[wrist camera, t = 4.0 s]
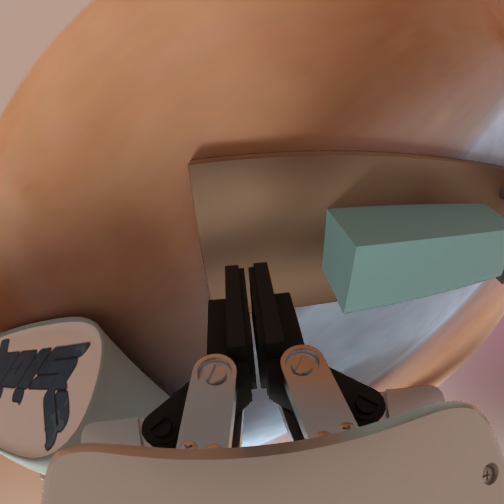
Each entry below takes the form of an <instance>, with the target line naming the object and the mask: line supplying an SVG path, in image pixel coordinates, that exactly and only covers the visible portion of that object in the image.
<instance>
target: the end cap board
mask: <svg viewBox="0 0 504 504" xmlns="http://www.w3.org/2000/svg"><path fill="white" fill-rule="evenodd" d="M188 167H189V175H190V182H191V189H192V195H193V202H194V209H195V215H196V221H197V227H198V233H199V239H200V245H201V251H202V256H203V262H204V267H205V273H206V278H207V283H208V289H209V294H210V299H211V300H215V299H226V295H225V266H230V265H238V266H239V268H244V272H245V281H246V290H247V298H248V307H249V313H252V309H251V296H250V283H249V270H248V267H253V263H261V262H267V264H268V269H269V273H270V278H271V282H272V286H273V291H274V294H277V293H286V292H289V293H290V295H291V299H292V302H293V306H294V307H301V306H309V305H316V304H323V303H329V302H336V301H337V299H336V297H335V295H334V293H333V290H332V288H331V286H330V284H329V282H328V280H327V278H326V276H325V274H324V272H323V270H322V261H323V251H324V239H325V227H326V213H327V209H331V208H348V207H367V206H388V205H417V204H486V205H488V206H489V207H491V208H492V209H493V210H495V211H496V212H498V213H499V214H500V215H502V216H503V217H504V167H503V166H497V165H492V164H486V163H480V162H474V161H468V160H461V159H453V158H445V157H436V156H427V155H416V154H403V153H387V152H363V151H301V152H276V153H260V154H246V155H234V156H224V157H214V158H205V159H197V160H190V162H189V164H188ZM496 278H497V279H498V280H499V281H500V282H501V283H502V284H503V283H504V270H503V272H502V275H501V276H498V277H496Z"/></svg>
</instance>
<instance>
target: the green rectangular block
mask: <svg viewBox="0 0 504 504" xmlns="http://www.w3.org/2000/svg"><path fill="white" fill-rule="evenodd" d="M322 270H323V272H324V274H325V276H326V278H327V280H328V282H329V284H330V286H331V288H332V290H333V293H334V295H335V297H336V299H337V301H338V303H339V305H340V307H341V309H342V311H343V313H344V314H345V313H350V312H356V311H361V310H366V309H372V308H377V307H382V306H386V305H391V304H396V303H400V302H405V301H409V300H414V299H418V298H422V297H426V296H430V295H435V294H438V293H442V292H446V291H450V290H454V289H457V288H461V287H465V286H468V285H472V284H475V283H479V282H482V281H485V280H488V279H492V278H495V277H498V276H501V275H502V272H503V270H504V217H503V216H502V215H500V214H499V213H498V212H496V211H495V210H493V209H492V208H491V207H489V206H488V205H486V204H417V205H388V206H367V207H348V208H331V209H327V213H326V227H325V239H324V251H323V261H322Z"/></svg>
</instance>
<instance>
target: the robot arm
mask: <svg viewBox="0 0 504 504" xmlns="http://www.w3.org/2000/svg"><path fill="white" fill-rule="evenodd" d="M248 270H249V283H250V296H251V309H252V320H253V328H254V336H255V344H256V351H257V359H258V367H259V375H260V382H261V388H267V394H268V395H269V399H271V400H272V401H274V402H275V403H277V404H279V409H280V412H281V415H282V417H283V420H284V423H285V426H286V429H287V431H288V434H289V437H290V440H291V442H285V443H278V444H270V445H261V446H251V447H241V445H242V433H243V422H244V408H245V407H246V406H247V405H248V404H249V403H250V402H251V401H252V392H251V389H257V385H256V374H255V363H254V351H253V341H252V333H251V324H250V316H249V307H248V298H247V290H246V281H245V272H244V268H239V266H238V265H230V266H225V295H226V299H215V300H209V303H208V334H207V356H204V357H202V358H201V359H199V360H198V361H197V362H196V364H195V365H194V367H193V370H192V374H191V379H190V381H189V382H188V383H187V384H186V385H184V386H183V387H182V388H181V389H180V390H178V391H177V392H176V393H175V394H173V395H172V396H171V397H170V398H169V399H167V400H166V401H165V402H164V403H162V404H161V405H160V406H159V407H158V408H156V409H155V410H154V411H153V412H151V413H150V414H149V415H148V416H147V417H146V418H141V419H138V418H137V417H134V418H127V419H119V420H111V421H101V422H93V423H89V424H88V425H86V426H85V427H84V429H83V431H82V434H81V444H75V445H72V446H68V447H65V448H63V449H61V450H59V451H58V452H56V453H55V454H54V456H53V457H52V459H51V460H50V463H49V465H48V468H47V472H46V475H45V480H44V485H43V493H42V503H41V504H504V457H503V453H502V450H501V448H500V445H499V443H498V441H497V438H496V436H495V433H494V431H493V429H492V427H491V425H490V423H489V421H488V420H487V418H486V416H485V415H484V413H483V412H482V411H481V410H480V409H479V408H478V407H477V406H476V405H474V404H472V403H468V402H463V401H446V402H445V399H444V396H443V393H442V392H441V391H440V390H439V388H437V387H435V386H429V385H427V386H419V387H410V388H399V389H386V391H385V392H378V391H376V390H375V389H373V388H371V387H368V386H366V385H364V384H362V383H360V382H358V381H356V380H354V379H352V378H350V377H348V376H346V375H344V374H342V373H340V372H338V371H336V370H334V369H332V368H330V367H329V366H328V365H327V363H326V361H325V359H324V357H323V355H322V354H321V352H320V351H319V350H317V349H316V348H314V347H312V346H309V345H304V342H303V338H302V334H301V331H300V327H299V323H298V320H297V316H296V313H295V309H294V306H293V302H292V299H291V295H290V293H289V292H286V293H277V294H274V291H273V286H272V282H271V278H270V273H269V269H268V264H267V262H261V263H253V267H248Z"/></svg>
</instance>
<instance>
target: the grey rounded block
mask: <svg viewBox="0 0 504 504" xmlns="http://www.w3.org/2000/svg"><path fill="white" fill-rule="evenodd" d="M169 398H170V396H169V395H168V394H167V393H166V392H164V391H163V390H162V389H161V388H160V387H159V386H158V385H157V384H155V383H154V382H153V381H152V380H151V379H150V378H149V377H148V376H146V375H145V374H144V373H143V372H142V371H141V370H140V369H139V368H138V367H137V366H136V365H135V364H134V363H133V362H132V361H131V360H130V359H129V358H128V357H127V356H126V355H125V354H124V353H123V352H122V351H121V350H120V349H119V348H118V347H117V346H116V344H115V343H114V342H113V341H112V340H111V339H110V338H109V337H108V336H107V335H106V333H105V332H104V331H103V330H102V329H101V327H100V326H99V325H98V324H97V323H96V322H94V321H92V320H91V319H88V318H85V317H76V316H73V317H63V318H56V319H50V320H44V321H40V322H35V323H31V324H27V325H23V326H20V327H16V328H13V329H10V330H7V331H5V332H2V333H0V454H2V455H4V456H5V457H7V458H9V459H11V460H13V461H15V462H17V463H18V464H21V465H22V466H25V467H27V468H29V469H31V470H34V471H36V472H38V473H40V474H43V475H46V472H47V468H48V465H49V463H50V460H51V459H52V457H53V456H54V454H55V453H56V452H58V451H59V450H61V449H63V448H65V447H68V446H72V445H75V444H81V434H82V431H83V429H84V427H85V426H86V425H88V424H89V423H93V422H101V421H111V420H119V419H127V418H134V417H137V418H138V419H141V418H146V417H147V416H148V415H149V414H150V413H151V412H153V411H154V410H155V409H156V408H158V407H159V406H160V405H161V404H162V403H164V402H165V401H166V400H167V399H169Z"/></svg>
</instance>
